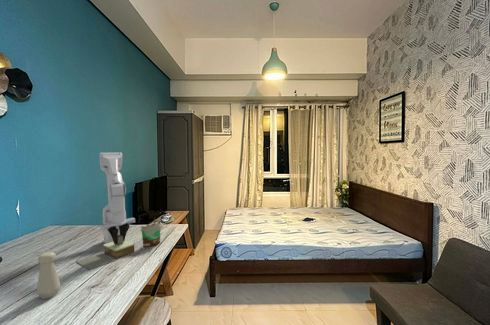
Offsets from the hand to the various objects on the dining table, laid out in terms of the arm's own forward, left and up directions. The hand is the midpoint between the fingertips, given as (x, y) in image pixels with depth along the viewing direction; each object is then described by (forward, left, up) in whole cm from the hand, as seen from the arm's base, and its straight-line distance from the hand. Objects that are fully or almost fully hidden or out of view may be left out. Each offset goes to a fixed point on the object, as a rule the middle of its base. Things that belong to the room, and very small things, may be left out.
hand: (119, 242), depth 112 cm
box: (0, 0, -4) cm, 4 cm away
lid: (0, 0, -1) cm, 1 cm away
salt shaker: (+15, -30, -5) cm, 34 cm away
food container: (+4, +15, -5) cm, 16 cm away
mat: (+1, -10, -4) cm, 11 cm away
